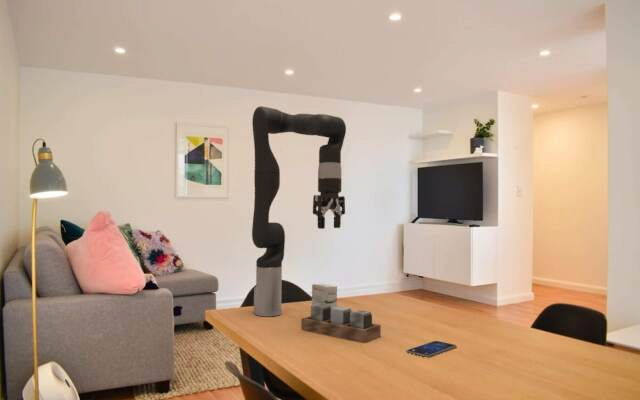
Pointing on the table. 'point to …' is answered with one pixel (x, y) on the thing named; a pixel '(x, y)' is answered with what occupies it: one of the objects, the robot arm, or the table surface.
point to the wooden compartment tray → (355, 330)
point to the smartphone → (431, 349)
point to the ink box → (324, 295)
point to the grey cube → (340, 315)
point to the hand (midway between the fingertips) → (329, 228)
